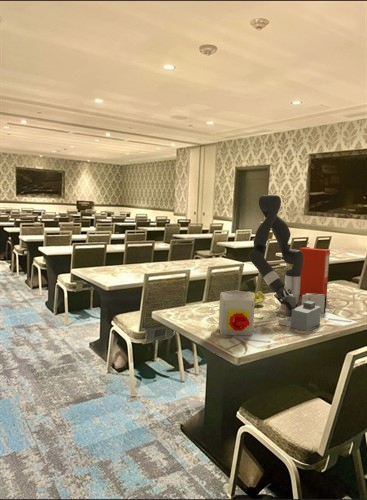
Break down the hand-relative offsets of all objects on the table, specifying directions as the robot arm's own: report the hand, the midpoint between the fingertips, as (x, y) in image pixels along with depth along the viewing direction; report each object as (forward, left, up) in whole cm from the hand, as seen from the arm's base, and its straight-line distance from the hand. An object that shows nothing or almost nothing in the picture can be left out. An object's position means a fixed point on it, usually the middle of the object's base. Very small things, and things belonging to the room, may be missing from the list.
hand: (293, 308), depth 186 cm
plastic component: (-14, -35, -9) cm, 38 cm away
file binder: (-63, -18, -8) cm, 66 cm away
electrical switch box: (+34, -12, -8) cm, 37 cm away
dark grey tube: (0, -2, -4) cm, 5 cm away
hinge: (-28, -2, -8) cm, 29 cm away
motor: (-4, +2, -8) cm, 9 cm away
